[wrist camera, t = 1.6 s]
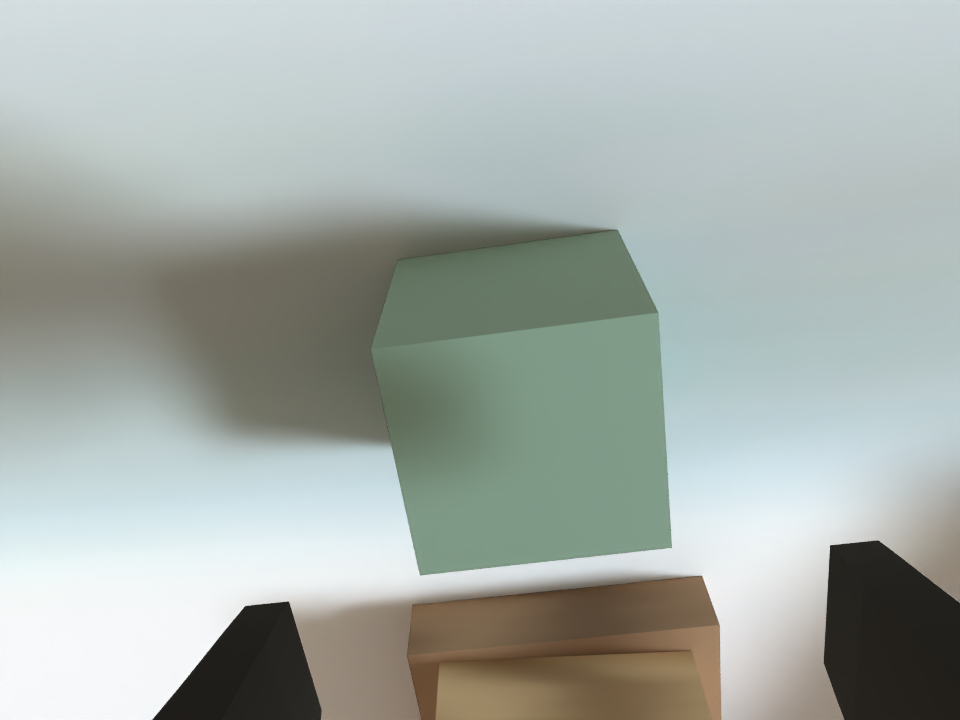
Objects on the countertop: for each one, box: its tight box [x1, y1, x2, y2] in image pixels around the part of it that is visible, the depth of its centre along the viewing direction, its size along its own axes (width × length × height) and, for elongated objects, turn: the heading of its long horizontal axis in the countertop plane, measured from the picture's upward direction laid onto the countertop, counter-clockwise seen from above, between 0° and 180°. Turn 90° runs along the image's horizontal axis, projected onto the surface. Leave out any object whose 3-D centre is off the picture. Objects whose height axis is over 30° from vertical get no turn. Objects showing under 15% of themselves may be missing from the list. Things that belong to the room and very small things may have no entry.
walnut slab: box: [407, 576, 721, 720], centre depth 24 cm, size 8×8×2 cm
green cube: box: [371, 230, 672, 575], centre depth 18 cm, size 5×5×5 cm
